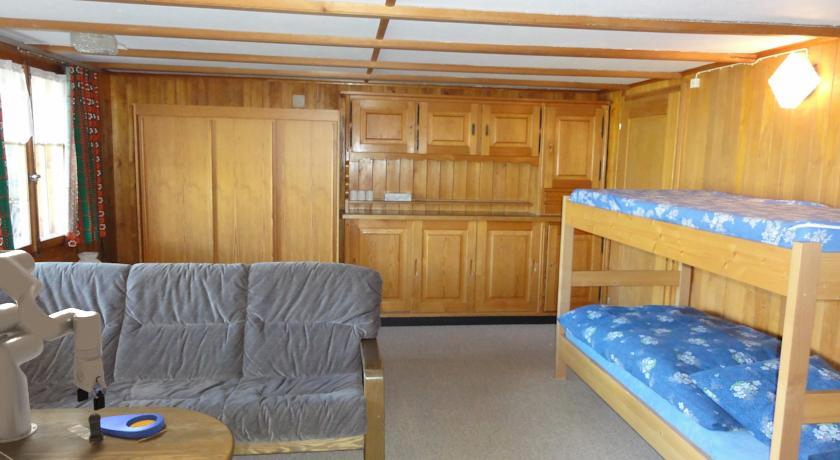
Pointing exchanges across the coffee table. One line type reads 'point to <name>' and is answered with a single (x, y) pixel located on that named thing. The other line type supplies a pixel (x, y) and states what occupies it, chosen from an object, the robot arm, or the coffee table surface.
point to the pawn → (95, 427)
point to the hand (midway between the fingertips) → (91, 404)
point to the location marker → (132, 425)
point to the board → (81, 432)
